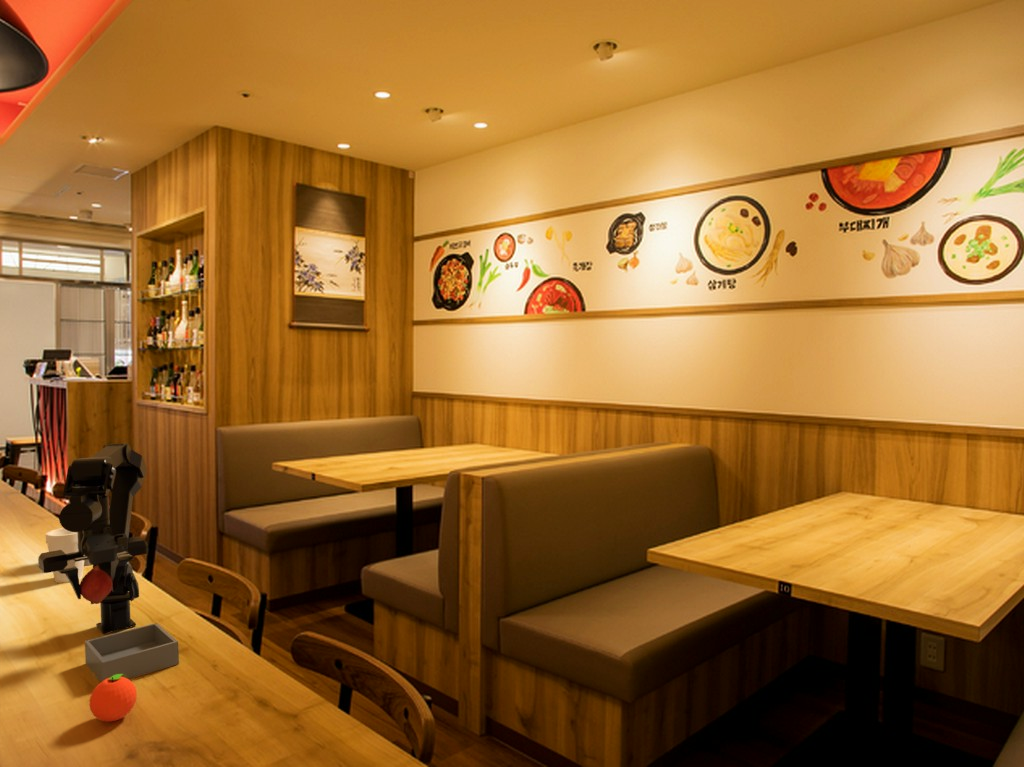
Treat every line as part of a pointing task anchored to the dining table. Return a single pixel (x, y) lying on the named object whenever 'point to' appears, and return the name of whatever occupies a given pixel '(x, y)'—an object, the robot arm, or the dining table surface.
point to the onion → (96, 585)
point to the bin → (131, 652)
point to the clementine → (113, 698)
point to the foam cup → (64, 549)
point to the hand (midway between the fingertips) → (96, 594)
